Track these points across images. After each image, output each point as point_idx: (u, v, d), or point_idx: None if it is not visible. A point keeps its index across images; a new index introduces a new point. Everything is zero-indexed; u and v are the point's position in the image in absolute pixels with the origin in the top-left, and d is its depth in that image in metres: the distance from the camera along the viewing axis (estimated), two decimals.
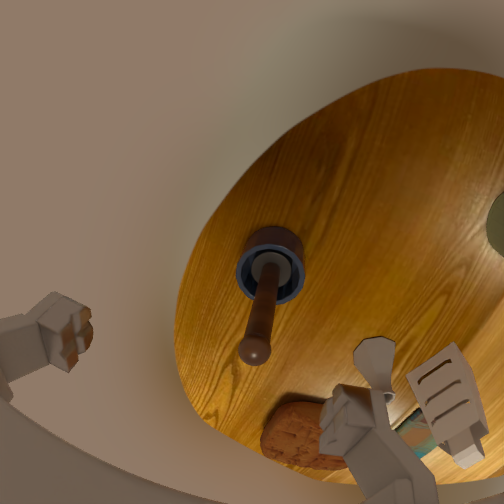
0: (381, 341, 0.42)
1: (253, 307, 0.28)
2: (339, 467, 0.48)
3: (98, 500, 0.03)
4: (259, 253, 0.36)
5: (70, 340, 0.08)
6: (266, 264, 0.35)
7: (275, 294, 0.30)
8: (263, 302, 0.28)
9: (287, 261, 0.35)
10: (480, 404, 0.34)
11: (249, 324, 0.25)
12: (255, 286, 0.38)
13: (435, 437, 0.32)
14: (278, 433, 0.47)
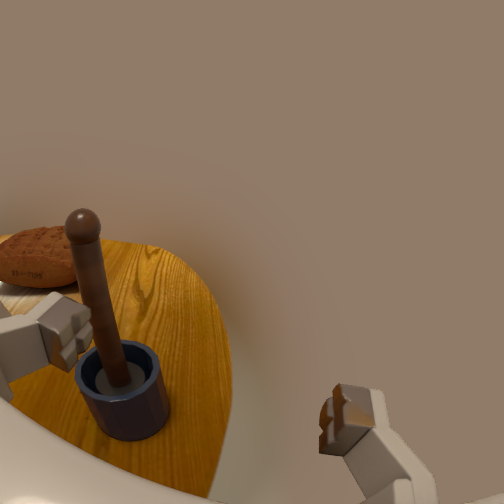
0: None
1: (105, 295, 0.20)
2: (22, 231, 0.49)
3: (98, 500, 0.03)
4: None
5: (70, 340, 0.08)
6: (126, 381, 0.23)
7: None
8: (95, 304, 0.19)
9: (102, 393, 0.22)
10: None
11: (98, 260, 0.19)
12: (134, 360, 0.27)
13: None
14: None
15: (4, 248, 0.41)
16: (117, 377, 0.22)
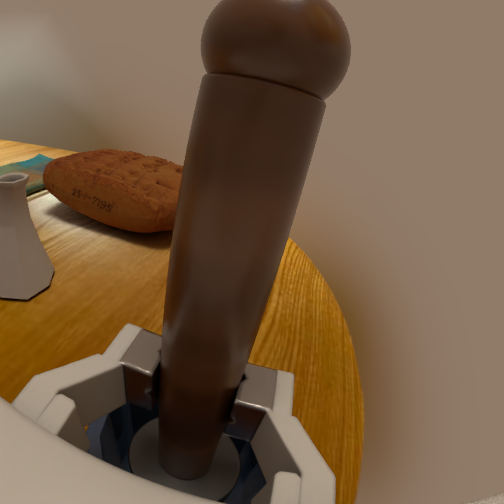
0: (1, 288, 0.20)
1: (259, 312, 0.06)
2: (108, 149, 0.43)
3: (98, 500, 0.03)
4: (220, 501, 0.09)
5: None
6: (199, 475, 0.09)
7: (163, 383, 0.07)
8: (213, 333, 0.06)
9: None
10: None
11: (297, 177, 0.05)
12: None
13: None
14: (179, 187, 0.37)
15: (75, 158, 0.35)
16: (184, 470, 0.09)
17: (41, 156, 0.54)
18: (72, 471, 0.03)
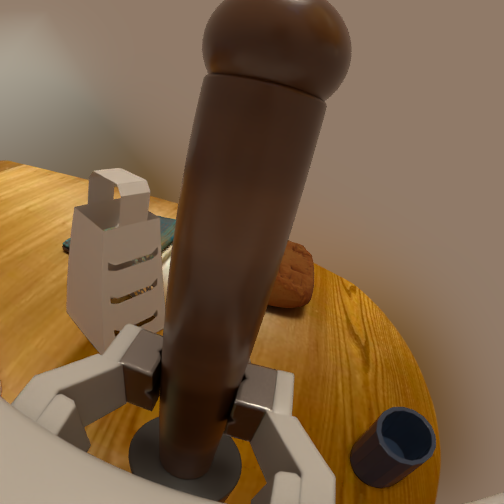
0: None
1: (260, 312, 0.06)
2: None
3: (98, 500, 0.03)
4: (221, 500, 0.09)
5: None
6: (199, 475, 0.09)
7: (164, 383, 0.07)
8: (214, 332, 0.06)
9: None
10: (76, 255, 0.32)
11: (298, 178, 0.05)
12: (401, 423, 0.28)
13: (158, 229, 0.33)
14: (307, 271, 0.51)
15: None
16: (185, 469, 0.09)
17: None
18: (72, 471, 0.03)
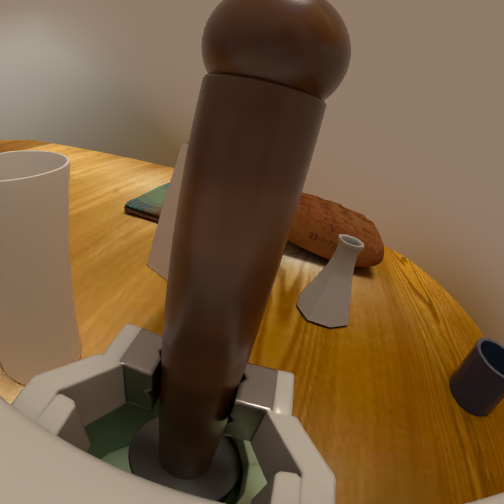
0: (332, 320, 0.34)
1: (259, 311, 0.06)
2: None
3: (98, 500, 0.03)
4: (221, 500, 0.09)
5: None
6: (199, 475, 0.09)
7: (164, 382, 0.07)
8: (213, 332, 0.06)
9: None
10: None
11: (297, 178, 0.05)
12: (486, 355, 0.28)
13: None
14: (376, 234, 0.52)
15: None
16: (185, 469, 0.09)
17: None
18: (72, 471, 0.03)
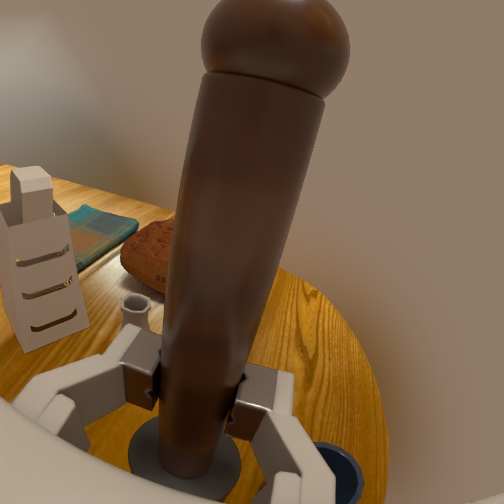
0: None
1: (259, 310, 0.06)
2: (171, 221, 0.53)
3: (98, 500, 0.03)
4: (220, 500, 0.09)
5: None
6: (199, 474, 0.09)
7: (163, 381, 0.07)
8: (213, 331, 0.06)
9: None
10: (0, 251, 0.27)
11: (297, 176, 0.05)
12: (325, 460, 0.23)
13: (67, 226, 0.29)
14: None
15: (150, 241, 0.45)
16: (184, 468, 0.09)
17: (87, 207, 0.63)
18: (72, 471, 0.03)
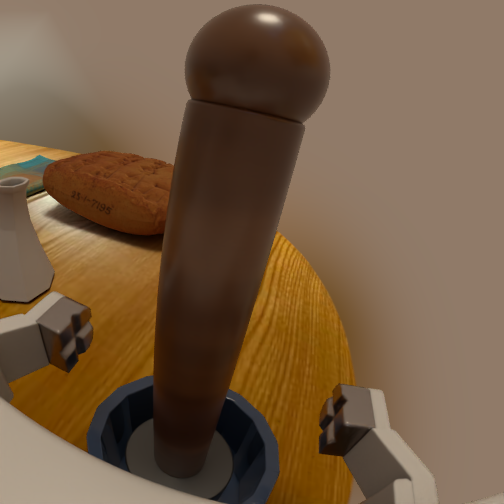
0: (2, 291, 0.20)
1: (243, 322, 0.06)
2: (108, 151, 0.43)
3: (98, 500, 0.03)
4: (214, 498, 0.10)
5: (70, 340, 0.08)
6: (192, 474, 0.10)
7: (156, 386, 0.07)
8: (200, 342, 0.06)
9: None
10: None
11: (275, 200, 0.05)
12: (219, 420, 0.14)
13: None
14: None
15: (74, 161, 0.35)
16: (178, 468, 0.09)
17: (40, 157, 0.54)
18: (72, 471, 0.03)
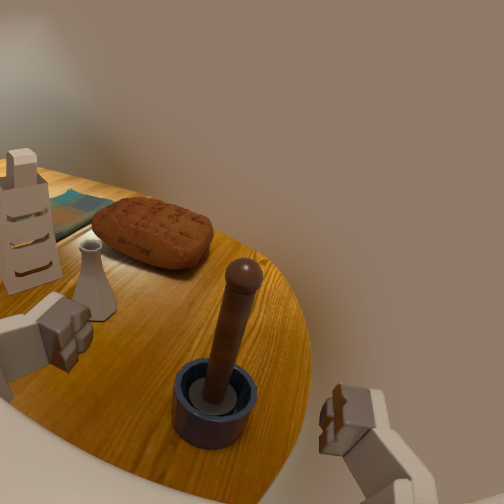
0: None
1: (241, 336, 0.23)
2: (137, 198, 0.60)
3: (98, 500, 0.03)
4: (228, 414, 0.26)
5: (70, 340, 0.08)
6: (219, 401, 0.26)
7: (212, 357, 0.24)
8: (229, 342, 0.23)
9: (194, 404, 0.26)
10: None
11: (248, 309, 0.22)
12: (230, 380, 0.30)
13: (47, 192, 0.36)
14: (196, 236, 0.54)
15: (116, 211, 0.52)
16: (214, 396, 0.26)
17: (72, 191, 0.70)
18: (72, 471, 0.03)
